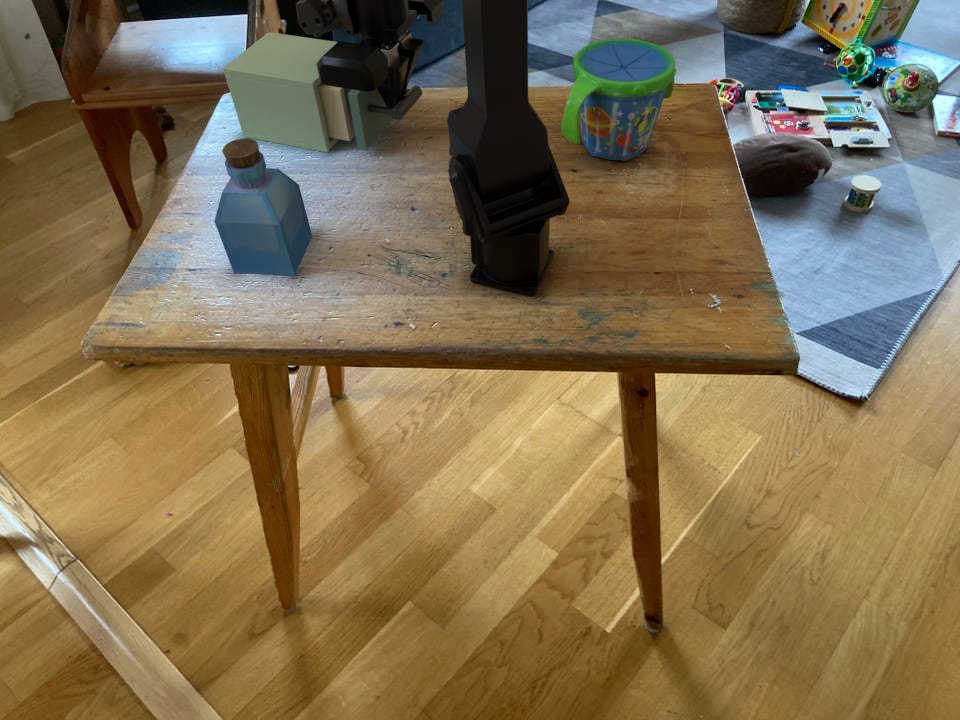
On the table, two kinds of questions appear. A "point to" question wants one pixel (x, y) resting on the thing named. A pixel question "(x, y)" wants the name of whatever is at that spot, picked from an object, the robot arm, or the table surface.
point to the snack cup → (617, 96)
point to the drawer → (361, 112)
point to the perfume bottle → (260, 214)
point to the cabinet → (280, 91)
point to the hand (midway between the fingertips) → (394, 110)
